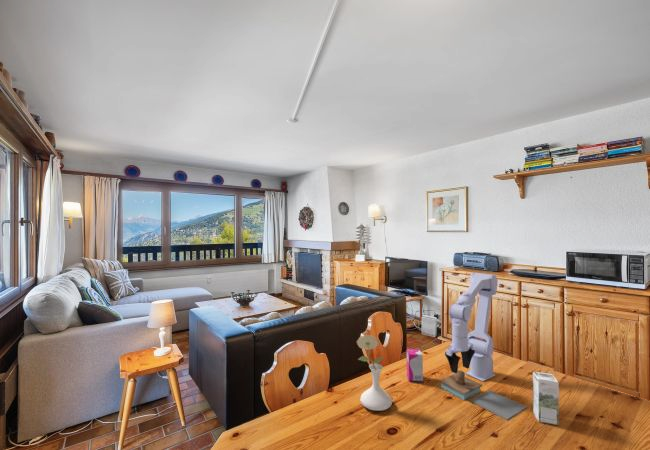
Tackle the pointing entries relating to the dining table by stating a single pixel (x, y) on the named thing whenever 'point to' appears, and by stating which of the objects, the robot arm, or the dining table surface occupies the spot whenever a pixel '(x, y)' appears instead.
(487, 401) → the mat
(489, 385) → the dining table surface
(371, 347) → the flower in vase
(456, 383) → the lid
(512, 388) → the dining table surface
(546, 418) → the syrup box
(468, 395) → the dish
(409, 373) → the supplement box
